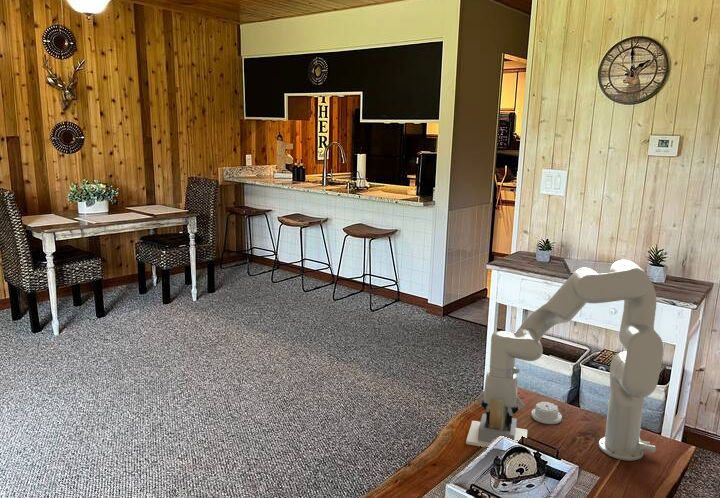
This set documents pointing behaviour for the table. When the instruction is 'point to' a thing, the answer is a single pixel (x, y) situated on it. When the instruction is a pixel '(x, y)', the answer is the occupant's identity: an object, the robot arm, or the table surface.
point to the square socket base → (492, 432)
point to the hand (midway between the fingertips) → (498, 423)
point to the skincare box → (498, 415)
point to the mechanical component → (546, 413)
